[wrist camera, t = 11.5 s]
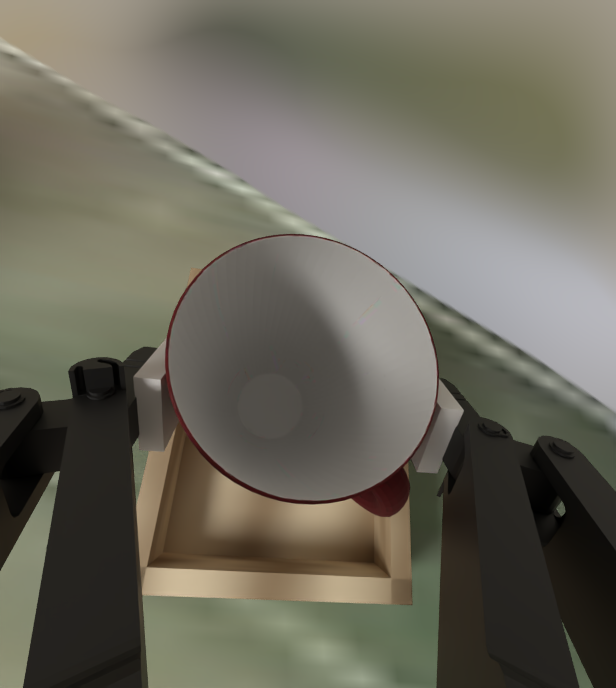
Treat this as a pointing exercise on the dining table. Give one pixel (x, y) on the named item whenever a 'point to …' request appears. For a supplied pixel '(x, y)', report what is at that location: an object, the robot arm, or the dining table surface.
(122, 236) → the dining table surface
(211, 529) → the wooden tray
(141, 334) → the dining table surface
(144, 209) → the dining table surface
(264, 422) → the mug
